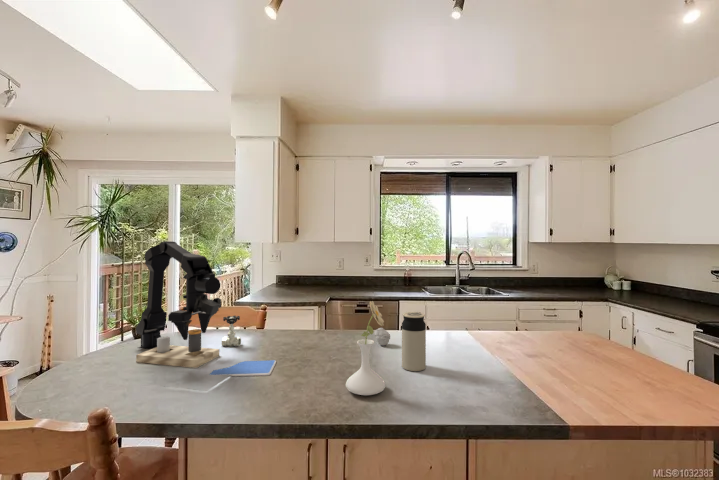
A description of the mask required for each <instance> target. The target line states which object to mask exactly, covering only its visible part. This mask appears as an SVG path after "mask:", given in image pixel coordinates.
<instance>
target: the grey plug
mask: <svg viewBox="0 0 719 480" xmlns="http://www.w3.org/2000/svg"><path fill="white" fill-rule="evenodd" d="M170 345H171V337H170V336H161V337H160V338H157V353H166V352H168V351H170Z"/></svg>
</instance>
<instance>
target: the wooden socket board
mask: <svg viewBox="0 0 719 480" xmlns="http://www.w3.org/2000/svg"><path fill="white" fill-rule="evenodd" d="M219 356H220V348H209V347H201V350H200V351H197V352H189V351H188V346H185V345H173V344H172V345H171V344H170V351H168V352H166V353H157V347H155V348H152V349H147V350H145V351H143V352H140V353H138V354H136V358H135V361H136V363H142V364H152V365H153V364H154V365H155V364H156V365H162V366H163V365H165V366H173V367H185V368H192V369H193V368H194V369H197V368H199V367H201V366H202V365H205V364H206V363H209V362H211V361H212V360H214V359H216V358H218V357H219Z"/></svg>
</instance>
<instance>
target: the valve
mask: <svg viewBox="0 0 719 480" xmlns="http://www.w3.org/2000/svg"><path fill="white" fill-rule="evenodd" d="M240 317H241V316H240V315H237V316H236V315H232V316H231V315H227V316H224V317H223V319H222V321H223V322H226V323H227V324H229V326H228V330H229V331H228V332H227V336H224V337H222V340H221V347H229V348H231V347H240V346H241V344H242V338H241V337H240V336H236V332H235V331H234V329H235V326H234V324H235V323H237V322H238V321H239V320H241V318H240Z"/></svg>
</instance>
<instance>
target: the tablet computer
mask: <svg viewBox="0 0 719 480" xmlns="http://www.w3.org/2000/svg"><path fill="white" fill-rule="evenodd" d="M276 364H277V360H275V359H271V360H270V359H269V360H244V361H241V362H238V363H236V364H233V365H232V366H229V367H223V368H218V369H215V370H214V369H213V370H212V371H211V372H210V373H209V376H216V375H217V376H220V375H221V376H223V375H224V376H225V375H228V376H227V377H228V378H229V377H255V376H256V377H257V376H258V377H259V376H261V377H263V376H265V377H266V376H270V375H272V372H273V370H274V368H275V366H276Z"/></svg>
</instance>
